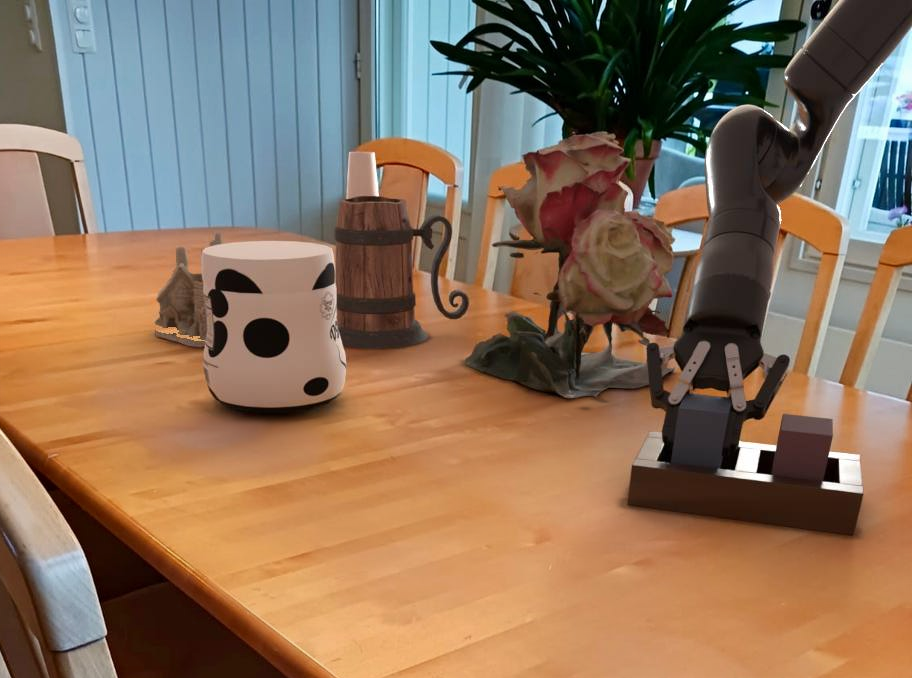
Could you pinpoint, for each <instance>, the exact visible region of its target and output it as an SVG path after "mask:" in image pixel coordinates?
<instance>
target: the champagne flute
mask: <svg viewBox="0 0 912 678" xmlns="http://www.w3.org/2000/svg"><path fill="white" fill-rule="evenodd" d="M346 179H347V180H346V197H345V199H349V198H353V197H357V196H380V195H379V193H380V192H379V185H378V184H379V182H378V174H377V163H376V153H375V152H374V151H349V152H348V162H347V178H346Z"/></svg>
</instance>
